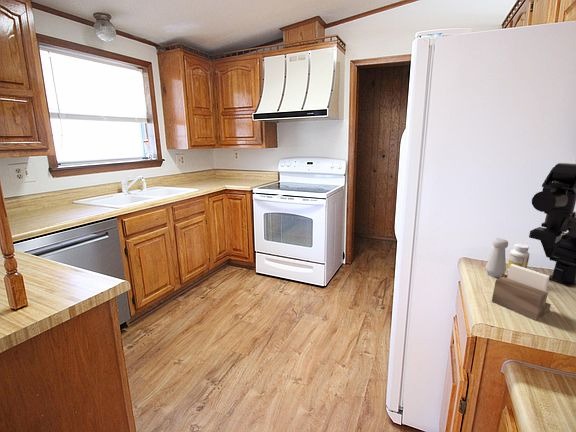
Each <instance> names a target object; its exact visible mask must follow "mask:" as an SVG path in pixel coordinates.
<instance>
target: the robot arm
mask: <svg viewBox="0 0 576 432" xmlns="http://www.w3.org/2000/svg"><path fill="white" fill-rule="evenodd" d="M541 187H542V191H538V192H536V193H535V194H534V195H533V197H532V198H531V205H532V206H533V207H532V208H534V209H535V210H536V211H538V212H541V213H543V214H545V217H544V218H545V219H544V221H543V222H542V223H540V224H541V225H540V226H539V227H536V228H533V229H531V230H529V234H528V237H529V238H530V239H532V240H533V239H534V240H538V241H540V244H541V246H542V248H543V252H544V254H545V257H546V258H547V259H548V258H549V261H553V262H555V264H554V268H553V272H552V274H550V275H549V276H550V277H549V280H551V281H554V282H557V283H558V284H561V285H563V286H566V287H570V286H575V285H576V211H575V208H576V163H567V162H559V163H556V164H555V165H554V166H553V167H552V168H551V170H550V171H549V173H548V175H547V176H546V177H545V179H544V181H543V183H542V184H541Z"/></svg>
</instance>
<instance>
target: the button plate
mask: <svg viewBox="0 0 576 432" xmlns="http://www.w3.org/2000/svg"><path fill="white" fill-rule="evenodd" d="M549 277H550V275H548V274H545V273H542V272H538V271H535V270H533V269H529V268H528V267H527V268H523V267H520V266H517V265H514V264H511V265H510V266H509V271H508V270H507V276H506V278H508V279H511V280H514V281H516V282H519V283H522V284H525V285H528V286H530V287H533V288H536V289H539V290H542V291H544V292H547V289H548V285H549V281H550V279H549Z"/></svg>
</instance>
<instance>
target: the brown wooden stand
mask: <svg viewBox="0 0 576 432" xmlns="http://www.w3.org/2000/svg"><path fill="white" fill-rule="evenodd" d="M548 294H549V292H547V291H546V292H544V291H542V290H539V289H536V288H533V287H530V286H528V285H525V284H522V283H519V282H516V281H514V280H511V279H508V278H507V277H505V276H501V277H500V278H497V279H495V281H494V287H493V293H492V298H491V302H492V303H493V304H496V305H498V306H501V307H503V308H506V309H507V310H510V311H513V312H514V313H517V314H520V315H522V316H523V317H526V318H527V319H528V318H529V319H531V320H533V321H537V320H539V319H540V318H541V317H543V316H544V315H546V314H547V313H548V312H549V311H550V309H551V305H552V304H550V303H548V302H547V298H548V296H549V295H548Z"/></svg>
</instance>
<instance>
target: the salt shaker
mask: <svg viewBox="0 0 576 432" xmlns="http://www.w3.org/2000/svg"><path fill="white" fill-rule="evenodd" d="M492 245H493V248H492V251H491V253H490V256H489V258H488V261H487V263H486V265H485V271H486V273H487V276H490V277H492V278H497V279H499V278H501V277H503V275H505V273H506V270H507V268H506V267H507V266H506V265H507V263H506V249H507V248H508V246H509V241H508V240H506V239H505V238H494V239H493V241H492Z"/></svg>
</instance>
